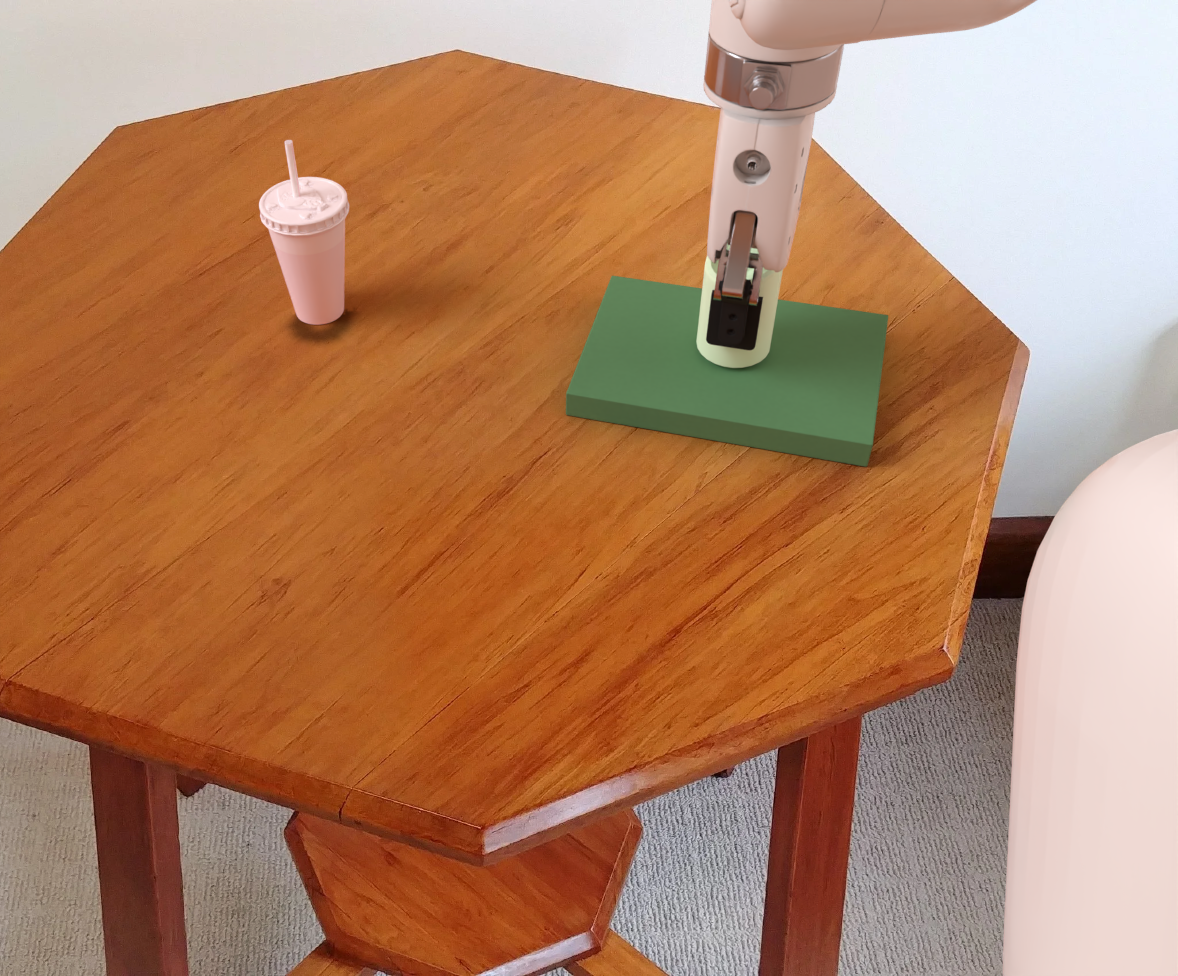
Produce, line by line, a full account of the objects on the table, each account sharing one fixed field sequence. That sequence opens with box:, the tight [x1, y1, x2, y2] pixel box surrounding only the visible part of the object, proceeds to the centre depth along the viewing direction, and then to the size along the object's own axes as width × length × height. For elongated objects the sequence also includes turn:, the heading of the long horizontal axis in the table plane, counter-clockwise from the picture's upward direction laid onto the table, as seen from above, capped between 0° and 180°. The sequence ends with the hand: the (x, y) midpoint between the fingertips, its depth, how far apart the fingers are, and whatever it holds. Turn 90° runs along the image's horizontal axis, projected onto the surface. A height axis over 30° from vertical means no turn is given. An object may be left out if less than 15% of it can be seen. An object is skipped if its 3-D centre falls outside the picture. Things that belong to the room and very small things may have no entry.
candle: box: [696, 245, 784, 368], centre depth 83 cm, size 5×5×8 cm
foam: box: [565, 275, 889, 468], centre depth 86 cm, size 20×14×2 cm
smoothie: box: [258, 139, 350, 326], centre depth 90 cm, size 6×6×14 cm
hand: (736, 319), depth 83 cm, fingers closed on candle, 4 cm apart
